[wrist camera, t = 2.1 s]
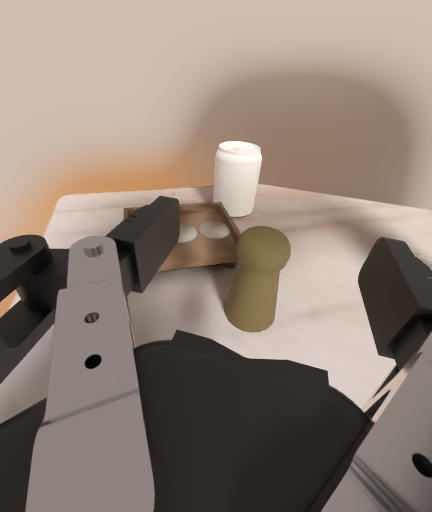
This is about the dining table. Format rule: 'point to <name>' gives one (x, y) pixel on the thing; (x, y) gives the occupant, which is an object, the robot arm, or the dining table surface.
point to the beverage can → (237, 177)
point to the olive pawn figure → (257, 278)
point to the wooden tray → (202, 237)
